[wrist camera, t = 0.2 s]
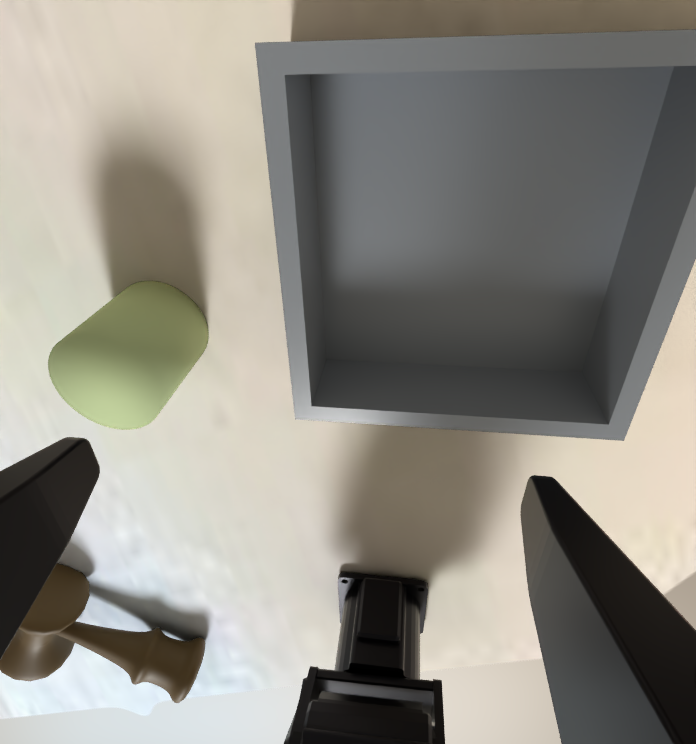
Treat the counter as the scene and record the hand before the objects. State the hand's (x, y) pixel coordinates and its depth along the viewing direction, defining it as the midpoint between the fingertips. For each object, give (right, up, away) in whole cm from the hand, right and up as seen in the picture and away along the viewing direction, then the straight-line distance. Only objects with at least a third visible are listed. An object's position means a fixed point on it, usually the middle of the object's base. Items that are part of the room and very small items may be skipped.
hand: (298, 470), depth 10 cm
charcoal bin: (+6, +8, +11) cm, 15 cm away
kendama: (-21, -19, +33) cm, 44 cm away
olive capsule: (-9, +5, +16) cm, 18 cm away
